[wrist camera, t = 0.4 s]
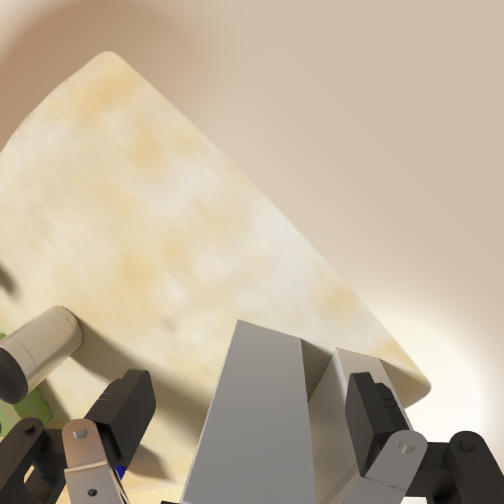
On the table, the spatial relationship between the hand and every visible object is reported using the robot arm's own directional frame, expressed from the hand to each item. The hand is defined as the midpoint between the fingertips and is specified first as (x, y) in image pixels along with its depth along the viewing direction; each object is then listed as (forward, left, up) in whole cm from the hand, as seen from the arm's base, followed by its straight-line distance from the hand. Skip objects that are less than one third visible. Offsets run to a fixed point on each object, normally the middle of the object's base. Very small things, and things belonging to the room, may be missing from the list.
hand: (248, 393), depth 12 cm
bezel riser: (+2, -28, -34) cm, 44 cm away
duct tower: (-10, -18, -34) cm, 40 cm away
